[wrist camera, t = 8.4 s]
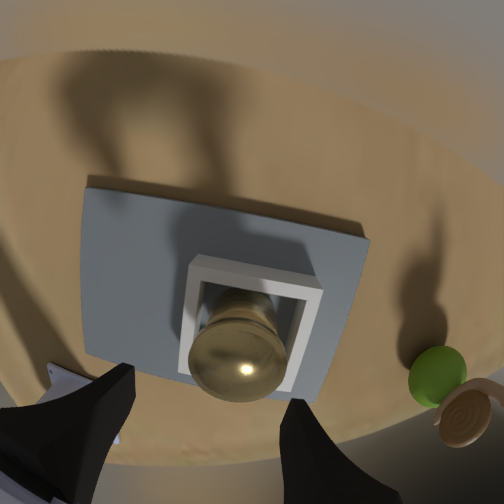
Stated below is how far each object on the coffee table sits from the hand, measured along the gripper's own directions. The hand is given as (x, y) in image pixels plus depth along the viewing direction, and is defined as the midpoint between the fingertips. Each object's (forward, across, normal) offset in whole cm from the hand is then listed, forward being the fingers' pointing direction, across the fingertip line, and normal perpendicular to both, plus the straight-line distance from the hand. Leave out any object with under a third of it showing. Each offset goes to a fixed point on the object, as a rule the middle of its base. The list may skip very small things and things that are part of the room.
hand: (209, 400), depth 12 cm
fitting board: (+9, +2, 0) cm, 9 cm away
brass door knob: (+8, -1, -1) cm, 8 cm away
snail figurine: (+10, -18, +2) cm, 21 cm away
